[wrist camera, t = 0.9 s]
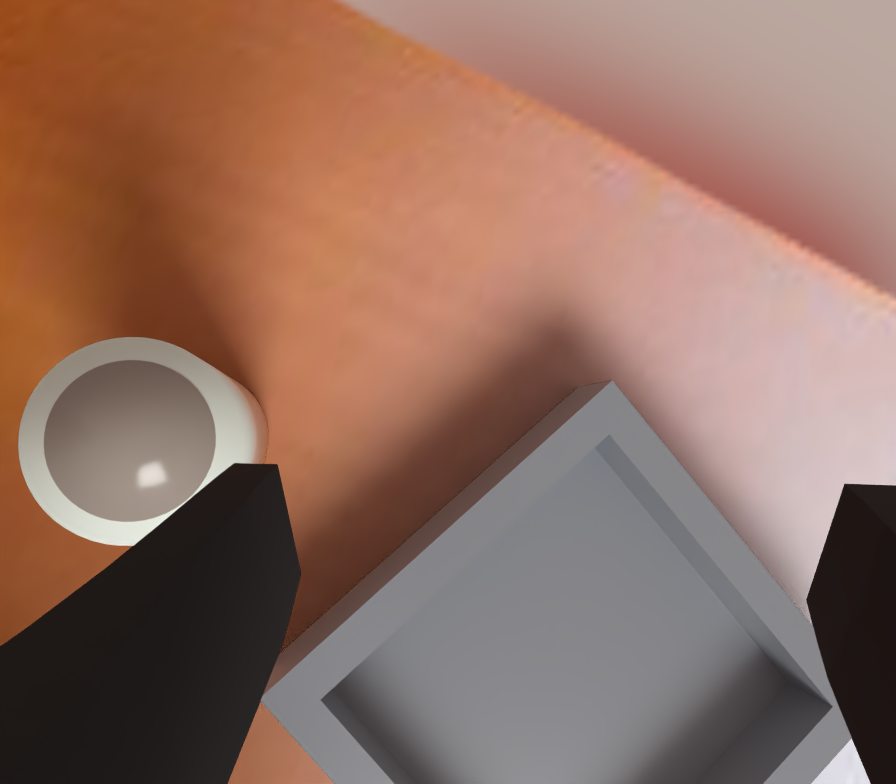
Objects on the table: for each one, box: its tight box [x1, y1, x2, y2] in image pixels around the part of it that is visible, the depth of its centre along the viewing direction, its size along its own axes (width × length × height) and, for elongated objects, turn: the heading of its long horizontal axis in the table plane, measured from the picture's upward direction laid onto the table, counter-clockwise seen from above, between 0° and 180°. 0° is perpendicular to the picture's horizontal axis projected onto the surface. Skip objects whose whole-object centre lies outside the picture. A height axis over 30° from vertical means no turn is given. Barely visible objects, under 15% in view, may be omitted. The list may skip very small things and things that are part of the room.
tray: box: [261, 380, 852, 784], centre depth 23 cm, size 14×14×3 cm
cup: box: [18, 337, 269, 546], centre depth 19 cm, size 4×4×8 cm
